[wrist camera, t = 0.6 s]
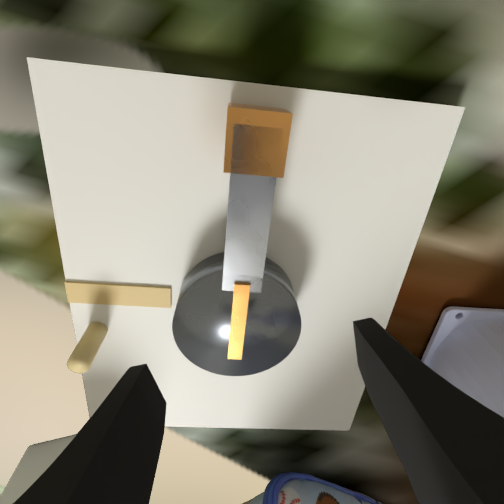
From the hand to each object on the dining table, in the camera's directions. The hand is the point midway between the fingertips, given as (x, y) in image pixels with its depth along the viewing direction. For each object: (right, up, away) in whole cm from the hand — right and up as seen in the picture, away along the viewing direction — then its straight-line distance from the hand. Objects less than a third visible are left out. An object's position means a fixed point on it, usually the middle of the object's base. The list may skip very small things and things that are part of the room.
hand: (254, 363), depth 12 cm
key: (-1, +4, +7) cm, 8 cm away
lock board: (-1, +1, +10) cm, 10 cm away
